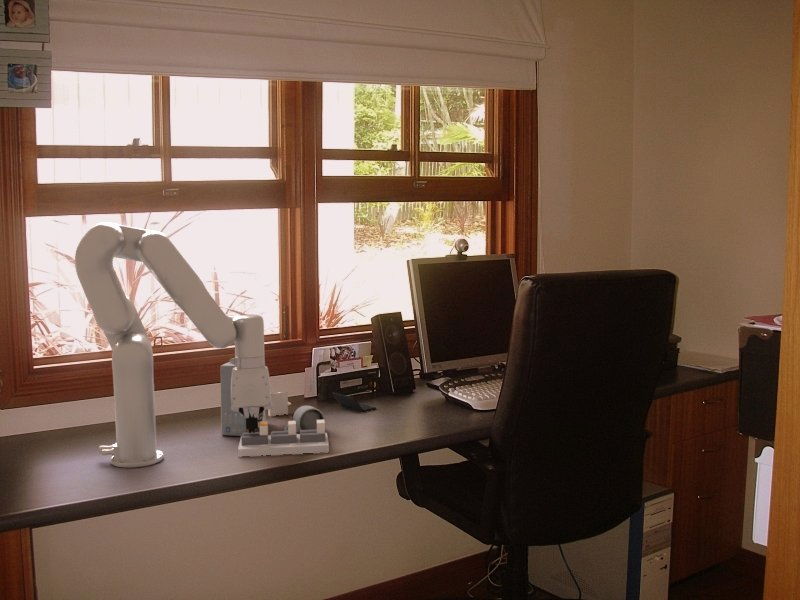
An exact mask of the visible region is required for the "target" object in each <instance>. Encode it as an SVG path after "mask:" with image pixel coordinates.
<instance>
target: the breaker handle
mask: <svg viewBox="0 0 800 600" xmlns="http://www.w3.org/2000/svg"><path fill="white" fill-rule="evenodd" d="M259 432H260V435H269V421H268V420H266V421H260V427H259Z"/></svg>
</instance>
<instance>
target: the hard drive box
mask: <svg viewBox="0 0 800 600" xmlns="http://www.w3.org/2000/svg"><path fill="white" fill-rule="evenodd" d="M219 368H220V372H219V373H220V432H221V433H220V435H221V436H232V437H233V436H234V437H235V436H236V437H238V436H239V437H242V433H245V432H249V429H246V418H245V416H244V415H242V414H241V413H240V412H237V411H232V410H231V376H232V370H233V368H235V365H234V364H230V361H228V362H226V363H223V364H222V365H220V367H219ZM254 409H255V407H249V412H250V414H251V416H253V413H254ZM260 421H267V419H266V410H265V411H263V412H262V413H261V414H260V415H259V416H258V429H260Z"/></svg>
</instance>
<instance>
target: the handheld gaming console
mask: <svg viewBox="0 0 800 600" xmlns="http://www.w3.org/2000/svg"><path fill="white" fill-rule="evenodd" d="M332 395H333V397H334V398H335V400H336V401H337V402H338V404H339V405H340V407H339V408H342V407H343V409H346V408H347V410H350V409H351V410H350V411H353V410H356V411H355V412H357V411H359V412H358V413H361V412H364V413H367V411H368V412H372V411H371V410H373V411H376V410H377V407H376V406H373V405H369V404H365V403H360V402H358V400H357V399H356V398H355V397H354V396H353V397H352V396H349V395H345V394H343V393H342V394H341V393H338V392H332ZM375 409H376V410H375Z"/></svg>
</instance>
